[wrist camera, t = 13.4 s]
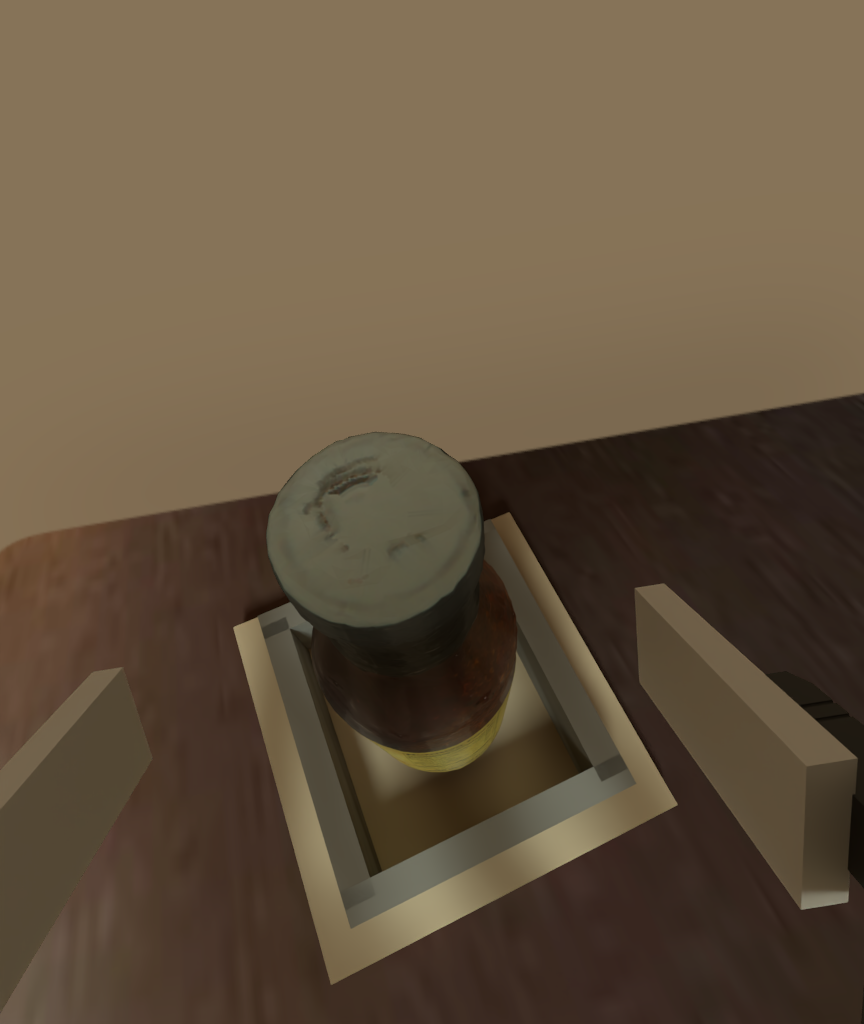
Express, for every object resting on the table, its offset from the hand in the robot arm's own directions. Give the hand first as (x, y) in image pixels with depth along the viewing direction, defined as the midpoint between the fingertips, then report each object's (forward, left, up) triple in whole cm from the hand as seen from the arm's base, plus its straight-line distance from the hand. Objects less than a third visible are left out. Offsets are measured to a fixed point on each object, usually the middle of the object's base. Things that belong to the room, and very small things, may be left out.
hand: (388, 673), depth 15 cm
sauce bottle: (-1, -1, -14) cm, 14 cm away
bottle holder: (-1, -1, -16) cm, 16 cm away
